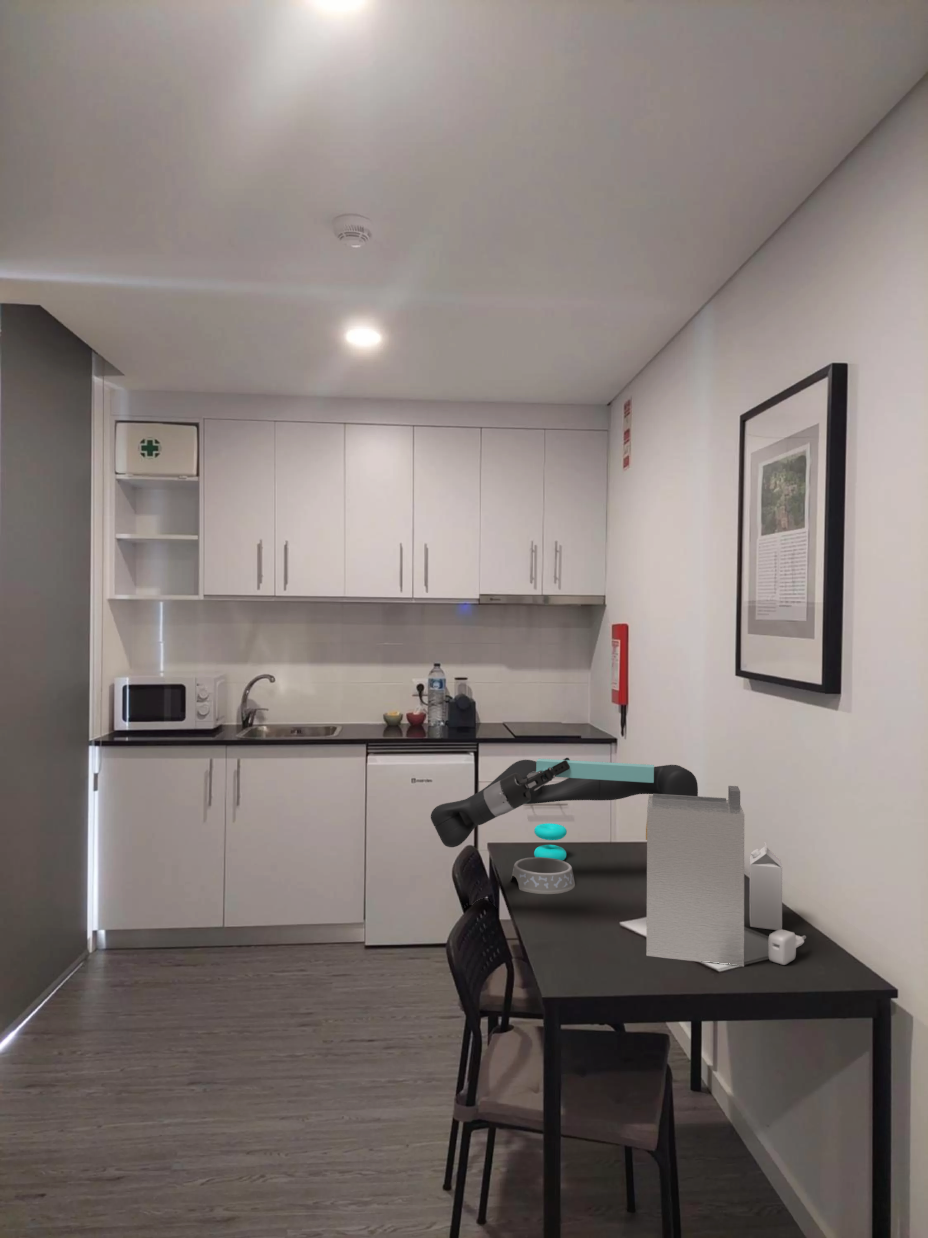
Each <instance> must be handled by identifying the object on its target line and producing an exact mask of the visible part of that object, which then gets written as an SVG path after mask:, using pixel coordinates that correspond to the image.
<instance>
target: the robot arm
mask: <svg viewBox="0 0 928 1238" xmlns="http://www.w3.org/2000/svg"><path fill="white" fill-rule="evenodd" d="M562 760H564V761H562V762H560V763H559V764H557V765H555V766H553V767H549V768H548V769H546V770H539V771H538V772H536V761H537V760H536V761H535V760H534V759H533V760H531V759H520V760H518V761H516V762H513V763H512V764H511V765H509V766H508V767H507V768H506V769H505V770H504V771H502V773H501V774H499V775H498V776H497V777H496V778H495V779H494V780H493V781H492V782H490V783H489V784H488V785H486V786H485V787H483V788H482V789H481V790H479V791H477V792H476V793H474V794H472V795H470V796H468V797H467V798H465V799H461V800H457V801H451V802H446V803H441V804H439V805H437V806H436V807H435V808H433V809H432V811H431V813H430V820H431V823H432V824H433V826H434V828H435V830H436V833H437V834H438V837H439V838H440V841H441V842H442V844H443V846H445V847H447V848H456V847H458V846H460V845H462V844H463V843H464V842H465V841H466V840H467V838H468V837H469V836H470V835H471V834H472V832H473V830H474V829H475V828H476V827H478V826H482V825H483V824H486V823H488V822H490V821H492V820H494V819H496V818H498V817H500V816H503V815H505V814H508V813H509V812H511V811H513V810H515V809H517V808H519V807H522V806H523V805H536V804H545V803H555V802H556V803H557V802H567V801H617V800H622V799H625V798H628V797H629V798H630V797H633V796H637V795H653V794H667V795H683V796H699V794H698V793H699V785H698V780H697V777H696V776H695V775H694V773H693V772H691V771H690V770H688V769H687V768H685V767H683V766H682V765H679V764H678V765H677V764H665V765H659V766H654V783H648V782H631V781H615V780H598V779H582V778H565V779H564V780H562V781H559V782H556V783H551V784H548V783H549V782H551V781H552V780H553V779H555V778H557V777H556V775H559V774H561V773H563V772H564V771H566V770H568V769H569V768H570V766H569V764H568V762H567V761H566V760H571V759H570V758H569V757H566V758H563V759H562ZM552 768H553V769H552ZM537 774H538V775H537ZM555 774H556V775H555Z"/></svg>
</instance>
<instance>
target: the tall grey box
mask: <svg viewBox="0 0 928 1238" xmlns="http://www.w3.org/2000/svg"><path fill="white" fill-rule="evenodd" d="M727 788H728V790H727V791H728V799H727V797H715V796H713V797H712V796H699V795H698V796H683V795H667V794H648V798H647V806H646V807H647V808H646V809H647V813H646V816H647V817H646V825H645V840H646V953H645V954H646V957H655V958H663V959H671V960H672V959H673V960H679V961H680V960H681V961H688V962H697V963H699V962H700V963H702V962H701V961H710V962H719V963H728V964H729V963H730V964H737V965H739V966H738V967H745V812H744V809H743V808H742V804H741V789H740V788H739V785H737V786H736V785H728V787H727Z"/></svg>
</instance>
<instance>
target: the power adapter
mask: <svg viewBox="0 0 928 1238" xmlns="http://www.w3.org/2000/svg"><path fill="white" fill-rule="evenodd" d="M767 938H768V942H767V943H768V944H767V946H768V947H767V952H768V953H767V956H768V959H769V961H770V962H773V963H775V964H777V965H779V964H780V965H782V966H785V965H788V964H790V963H791V962H793V961H794V960H795V959H796V955H797V948H799V947H800V946H802V945H804V943H805V939H807V936H806V935H802V936H800V935H797V934H795V932H794V931H789V930H786V929H783V928H782V929H779V930H774V931H773V932H772V933H769V936H768V937H767Z"/></svg>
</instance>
